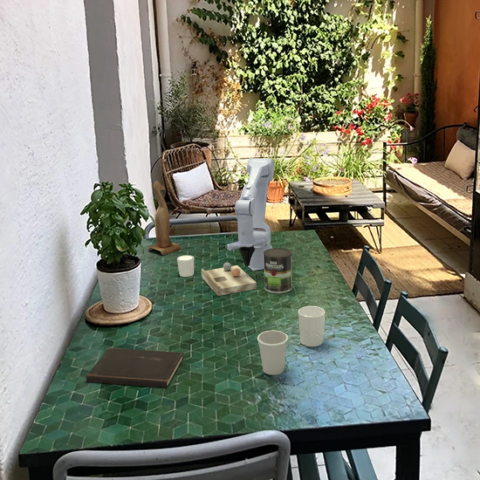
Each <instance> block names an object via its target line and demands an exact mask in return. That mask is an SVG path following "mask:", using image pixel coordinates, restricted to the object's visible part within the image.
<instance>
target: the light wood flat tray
mask: <svg viewBox="0 0 480 480" xmlns="http://www.w3.org/2000/svg"><path fill="white" fill-rule="evenodd" d="M235 268H238V269H239V270H240V275H239V276H237V277H235V276H233V274H232V270H233V269H235ZM200 273H201V278H202V279H203V280H204V282H206V284H207V285H208V286H209V287H210V289H212V291H213V292H214V293H215V294H216V295H217V296H218V297H219V296H224V295H231V294H235V293H236V294H237V293H239V292H240V293H241V292H247V291H253V290H257V281H256V280H254V278H252V277H251V276H250V275H249V274H248V273H247V272H245V271H244V270H243V269H242V268H241V267H240V266H239V265H237V264H236V265H231V269H230V270H228V271H226V270H224V268H223V267H220V268H213V269H208V270H205V269H204V268H201V272H200Z"/></svg>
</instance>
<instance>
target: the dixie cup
mask: <svg viewBox="0 0 480 480" xmlns="http://www.w3.org/2000/svg"><path fill="white" fill-rule="evenodd" d="M256 339H257V342H258V346H259V352H260V358H261V366H262V370H263V373H264V374H267V375H271V376H277V375H281V374H282V373H283V372H285V371H284V369H285V361H286V354H287V346H288V340H289V336H288V334H287V333H286V332H285V333H284V331H280V330H265V331H262V332H261V333H259V334H258V336H257V338H256Z"/></svg>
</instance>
